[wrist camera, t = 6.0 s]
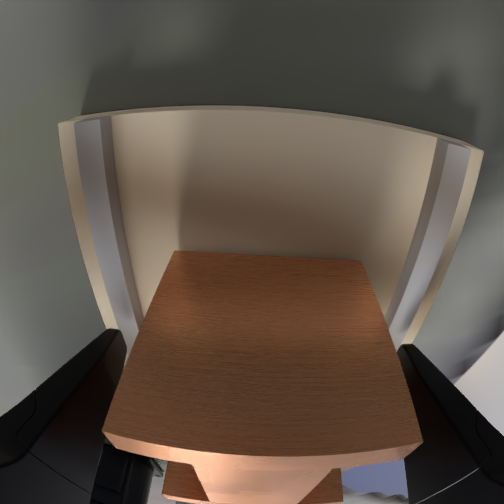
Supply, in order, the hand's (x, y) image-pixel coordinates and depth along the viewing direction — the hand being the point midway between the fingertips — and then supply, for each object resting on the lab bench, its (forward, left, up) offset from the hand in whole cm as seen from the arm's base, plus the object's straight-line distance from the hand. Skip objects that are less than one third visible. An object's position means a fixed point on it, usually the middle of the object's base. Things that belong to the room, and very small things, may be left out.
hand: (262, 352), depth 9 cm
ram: (-2, 0, -1) cm, 3 cm away
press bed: (-4, 0, -2) cm, 5 cm away
